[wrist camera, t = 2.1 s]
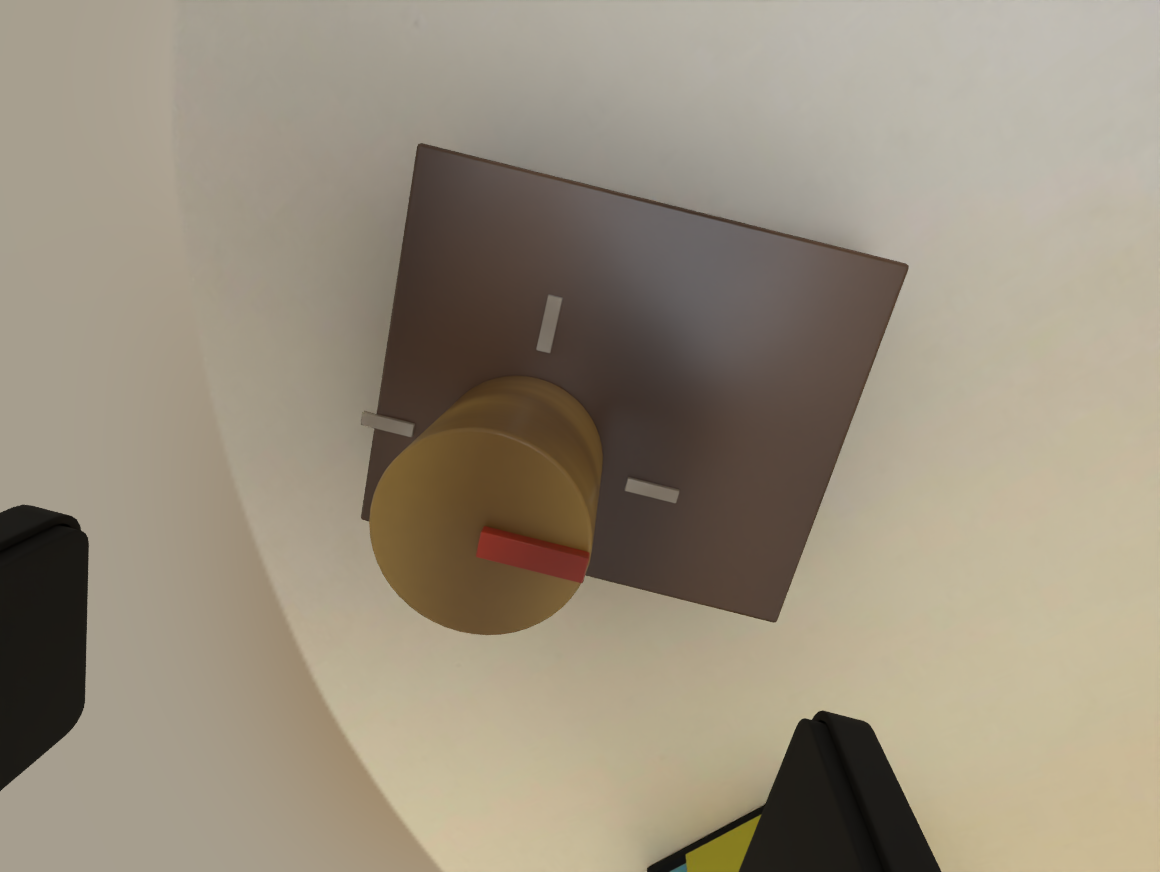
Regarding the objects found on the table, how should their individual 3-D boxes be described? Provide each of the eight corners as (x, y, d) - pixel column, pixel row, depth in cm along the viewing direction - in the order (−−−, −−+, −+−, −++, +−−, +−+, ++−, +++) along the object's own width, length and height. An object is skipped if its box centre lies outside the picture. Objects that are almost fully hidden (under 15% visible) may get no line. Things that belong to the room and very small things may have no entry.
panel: (380, 516, 22) (340, 561, 19) (438, 154, 19) (401, 137, 16) (745, 607, 22) (763, 666, 19) (868, 260, 19) (914, 264, 16)
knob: (426, 510, 18) (347, 614, 13) (454, 356, 17) (379, 406, 12) (581, 549, 18) (562, 668, 13) (621, 398, 17) (616, 466, 12)
